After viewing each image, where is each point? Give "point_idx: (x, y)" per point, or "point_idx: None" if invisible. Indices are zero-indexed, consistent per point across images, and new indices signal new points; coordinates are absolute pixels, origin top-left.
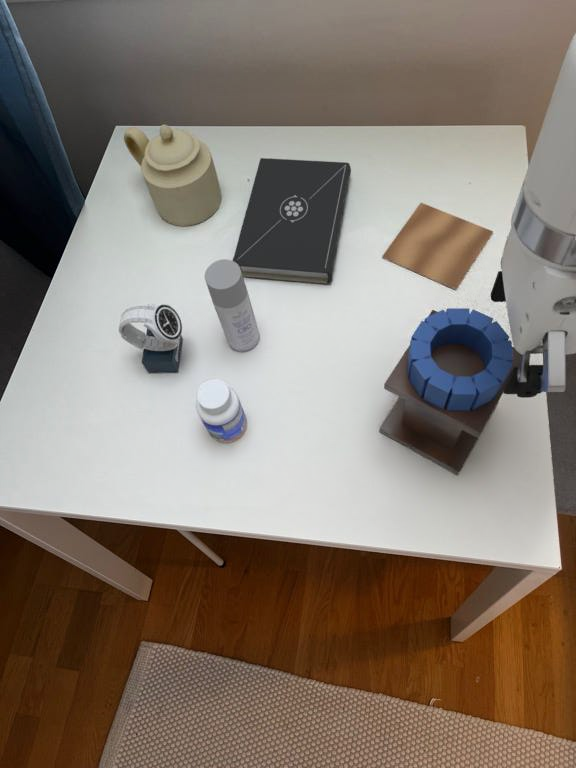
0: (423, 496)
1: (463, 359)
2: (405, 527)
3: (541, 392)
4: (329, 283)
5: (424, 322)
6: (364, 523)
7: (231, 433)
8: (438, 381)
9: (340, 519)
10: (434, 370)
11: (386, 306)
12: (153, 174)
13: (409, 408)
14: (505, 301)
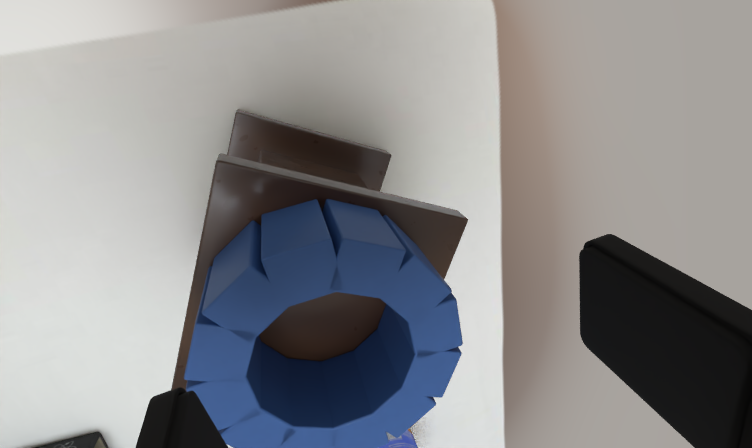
0: (429, 191)
1: None
2: (475, 203)
3: (611, 235)
4: (98, 435)
5: None
6: (478, 253)
7: (414, 445)
8: (435, 379)
9: (477, 281)
10: (409, 396)
11: (99, 340)
12: None
13: None
14: (223, 441)
